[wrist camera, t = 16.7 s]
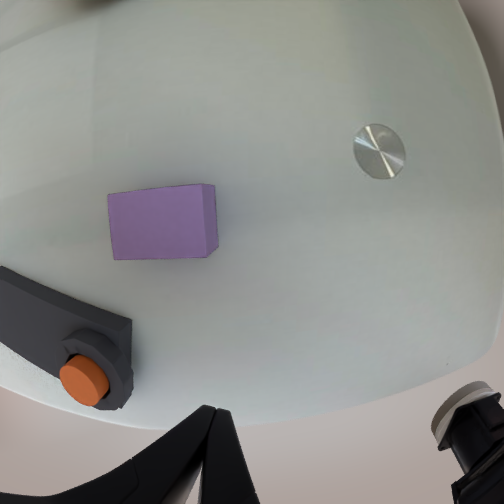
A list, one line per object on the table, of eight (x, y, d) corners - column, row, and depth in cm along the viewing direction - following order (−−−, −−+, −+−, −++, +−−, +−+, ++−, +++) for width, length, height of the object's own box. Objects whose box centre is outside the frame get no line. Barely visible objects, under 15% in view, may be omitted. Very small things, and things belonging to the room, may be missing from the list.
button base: (146, 324, 21) (122, 349, 17) (144, 399, 22) (126, 427, 18) (1, 265, 21) (-26, 275, 18) (9, 332, 23) (-14, 345, 19)
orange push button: (108, 364, 18) (96, 377, 16) (110, 400, 18) (100, 413, 17) (69, 347, 18) (56, 358, 16) (74, 382, 19) (63, 394, 17)
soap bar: (214, 184, 18) (201, 183, 15) (218, 247, 19) (206, 257, 16) (131, 193, 19) (106, 194, 16) (136, 250, 20) (113, 260, 16)
